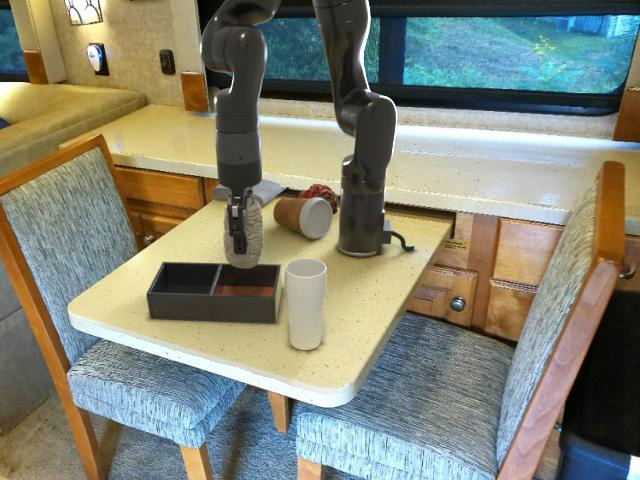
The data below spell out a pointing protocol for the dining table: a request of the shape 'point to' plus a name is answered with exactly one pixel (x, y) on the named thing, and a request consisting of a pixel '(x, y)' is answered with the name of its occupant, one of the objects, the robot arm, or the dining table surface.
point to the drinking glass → (305, 301)
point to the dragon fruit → (321, 195)
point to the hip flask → (261, 191)
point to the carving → (252, 236)
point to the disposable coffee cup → (304, 215)
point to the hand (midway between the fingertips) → (243, 244)
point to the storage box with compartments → (215, 292)
